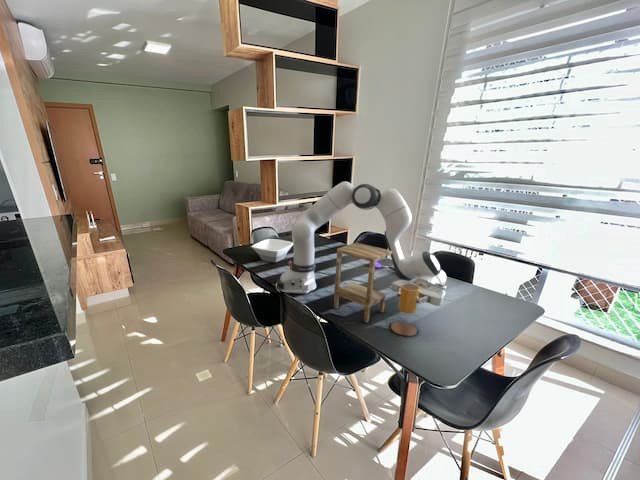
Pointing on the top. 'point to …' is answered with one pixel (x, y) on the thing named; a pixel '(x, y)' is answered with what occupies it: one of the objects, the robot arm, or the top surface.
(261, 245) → the bowl
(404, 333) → the coaster
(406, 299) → the cup
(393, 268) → the spatula
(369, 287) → the rack
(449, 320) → the top surface
